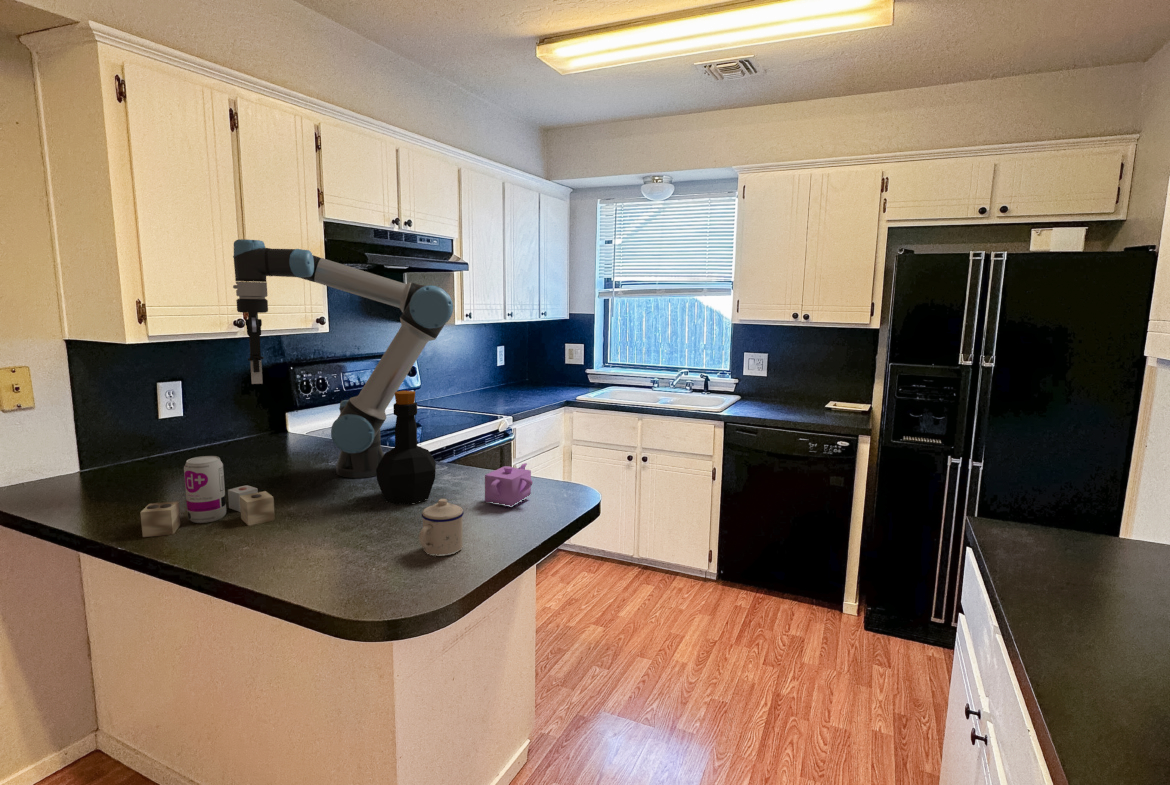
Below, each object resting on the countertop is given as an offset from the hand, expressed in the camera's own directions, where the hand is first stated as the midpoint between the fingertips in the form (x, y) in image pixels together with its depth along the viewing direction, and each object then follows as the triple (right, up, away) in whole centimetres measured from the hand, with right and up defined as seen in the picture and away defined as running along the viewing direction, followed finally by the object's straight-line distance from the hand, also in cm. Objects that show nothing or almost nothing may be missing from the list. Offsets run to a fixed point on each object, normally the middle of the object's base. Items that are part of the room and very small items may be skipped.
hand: (257, 383), depth 174 cm
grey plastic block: (+2, -33, -10) cm, 34 cm away
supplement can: (-3, -34, -19) cm, 39 cm away
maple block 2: (+10, -34, -18) cm, 40 cm away
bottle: (+42, -32, 0) cm, 53 cm away
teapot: (+71, -33, -1) cm, 78 cm away
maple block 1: (-8, -35, -27) cm, 45 cm away
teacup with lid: (+59, -38, -35) cm, 78 cm away
